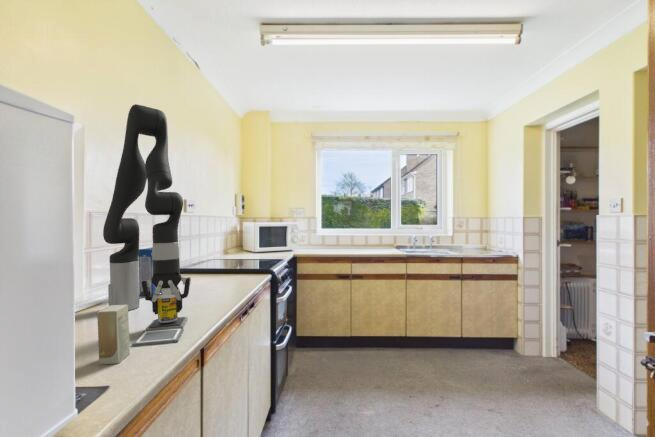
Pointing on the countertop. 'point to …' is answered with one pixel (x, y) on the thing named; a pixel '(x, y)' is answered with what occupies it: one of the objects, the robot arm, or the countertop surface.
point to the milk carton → (145, 269)
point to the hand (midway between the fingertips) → (167, 312)
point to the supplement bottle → (167, 306)
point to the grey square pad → (158, 337)
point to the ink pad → (167, 324)
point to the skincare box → (113, 334)
